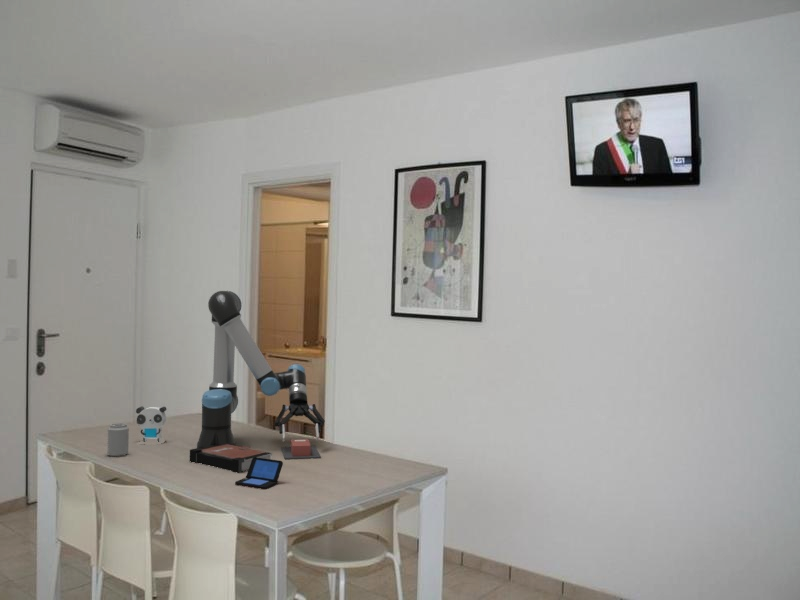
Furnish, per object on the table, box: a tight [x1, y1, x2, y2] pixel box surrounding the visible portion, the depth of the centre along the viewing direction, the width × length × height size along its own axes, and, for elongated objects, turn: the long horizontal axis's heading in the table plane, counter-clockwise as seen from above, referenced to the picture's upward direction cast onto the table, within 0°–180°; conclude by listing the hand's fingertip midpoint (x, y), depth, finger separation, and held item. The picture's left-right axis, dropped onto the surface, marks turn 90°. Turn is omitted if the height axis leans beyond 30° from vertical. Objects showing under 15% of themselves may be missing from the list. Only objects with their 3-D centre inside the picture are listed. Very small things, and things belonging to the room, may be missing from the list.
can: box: [107, 422, 130, 457], centre depth 263 cm, size 8×8×12 cm
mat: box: [280, 445, 322, 460], centre depth 272 cm, size 20×14×1 cm
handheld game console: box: [234, 457, 284, 490], centre depth 227 cm, size 12×11×7 cm
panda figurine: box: [135, 406, 167, 442], centre depth 286 cm, size 12×11×15 cm
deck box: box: [290, 438, 312, 456], centre depth 270 cm, size 4×7×12 cm
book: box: [189, 444, 273, 474], centre depth 254 cm, size 26×18×5 cm
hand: (300, 439), depth 272 cm, fingers open, 13 cm apart
